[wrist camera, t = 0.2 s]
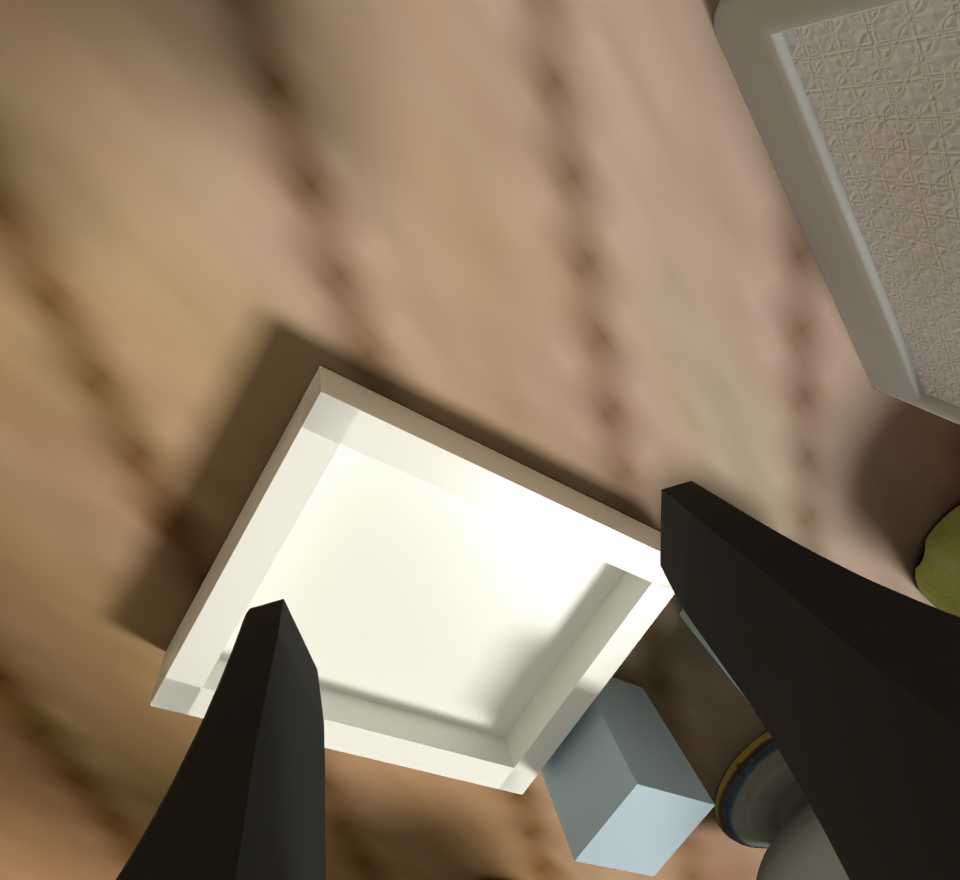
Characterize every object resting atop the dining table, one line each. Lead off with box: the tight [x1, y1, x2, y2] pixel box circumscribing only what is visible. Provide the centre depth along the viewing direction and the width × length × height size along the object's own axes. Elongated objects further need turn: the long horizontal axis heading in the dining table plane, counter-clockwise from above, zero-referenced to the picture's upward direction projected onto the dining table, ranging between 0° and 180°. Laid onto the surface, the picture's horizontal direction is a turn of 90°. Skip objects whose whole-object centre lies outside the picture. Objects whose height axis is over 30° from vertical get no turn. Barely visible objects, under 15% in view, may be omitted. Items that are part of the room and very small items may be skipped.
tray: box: [150, 366, 675, 795], centre depth 24 cm, size 12×15×2 cm
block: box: [541, 677, 715, 876], centre depth 27 cm, size 4×4×6 cm
